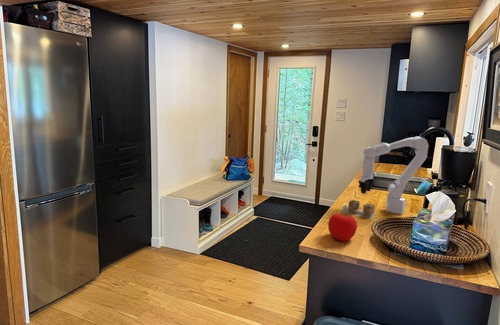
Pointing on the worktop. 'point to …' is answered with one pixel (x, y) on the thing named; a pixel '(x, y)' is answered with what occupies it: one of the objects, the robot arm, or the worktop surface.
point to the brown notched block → (353, 206)
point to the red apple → (342, 226)
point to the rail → (358, 212)
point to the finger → (368, 210)
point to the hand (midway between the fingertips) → (365, 192)
